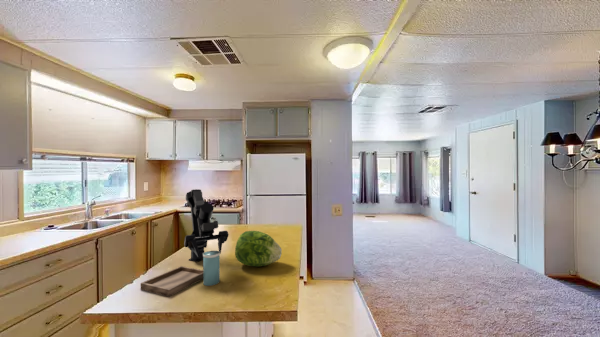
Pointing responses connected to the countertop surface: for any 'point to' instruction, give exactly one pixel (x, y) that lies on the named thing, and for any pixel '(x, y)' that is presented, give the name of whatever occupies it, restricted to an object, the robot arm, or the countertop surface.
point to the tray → (173, 281)
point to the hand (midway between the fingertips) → (209, 254)
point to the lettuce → (257, 249)
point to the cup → (211, 268)
